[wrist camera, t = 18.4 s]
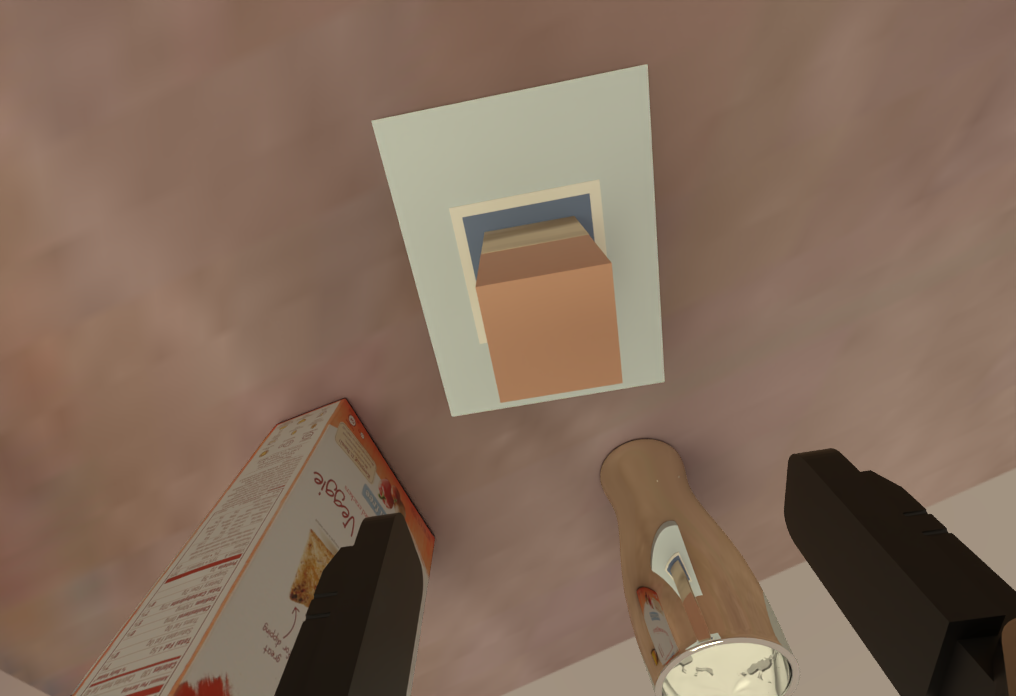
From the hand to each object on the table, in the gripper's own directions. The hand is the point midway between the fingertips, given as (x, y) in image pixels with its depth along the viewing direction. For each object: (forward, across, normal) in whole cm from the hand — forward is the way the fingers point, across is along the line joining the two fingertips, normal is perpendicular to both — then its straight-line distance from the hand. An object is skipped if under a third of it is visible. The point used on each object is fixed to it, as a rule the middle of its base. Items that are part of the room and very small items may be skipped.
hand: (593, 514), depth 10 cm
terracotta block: (+14, 0, 0) cm, 14 cm away
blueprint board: (+21, 0, 0) cm, 21 cm away
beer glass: (+21, -5, +17) cm, 27 cm away
